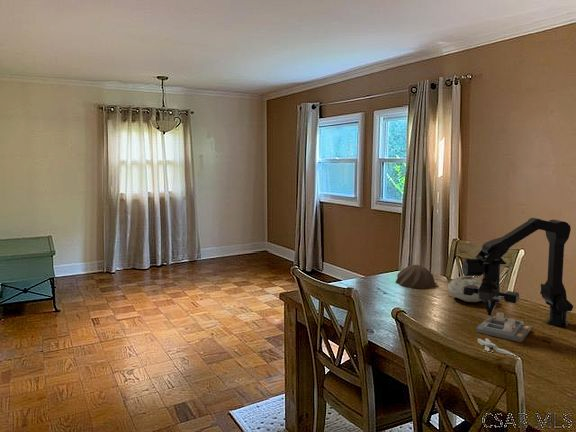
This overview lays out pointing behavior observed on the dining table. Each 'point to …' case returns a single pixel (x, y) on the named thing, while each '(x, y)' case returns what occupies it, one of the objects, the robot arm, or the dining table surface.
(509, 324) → the tab
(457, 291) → the grey rounded stone
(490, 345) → the pliers
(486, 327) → the switch bank
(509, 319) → the tab
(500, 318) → the tab
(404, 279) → the decorative dome
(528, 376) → the dining table surface
